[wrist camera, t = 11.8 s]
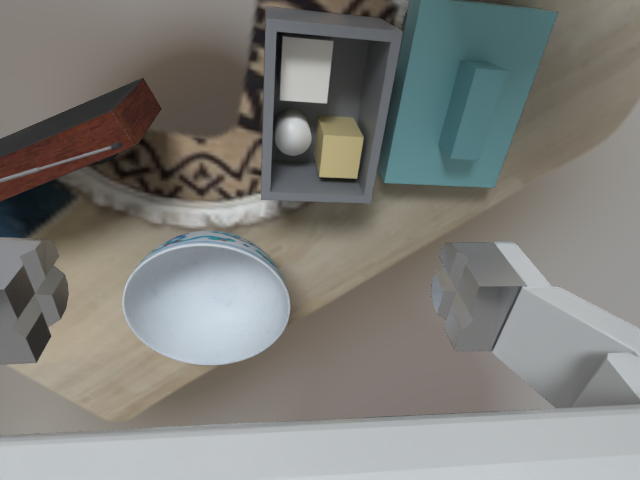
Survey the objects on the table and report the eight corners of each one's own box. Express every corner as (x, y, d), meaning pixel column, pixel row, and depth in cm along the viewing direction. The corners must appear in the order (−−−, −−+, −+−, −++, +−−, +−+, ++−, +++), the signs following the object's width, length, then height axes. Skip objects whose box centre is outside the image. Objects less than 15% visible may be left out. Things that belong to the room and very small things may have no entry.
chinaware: (314, 267, 47) (321, 316, 41) (214, 331, 51) (206, 385, 45) (220, 170, 40) (211, 212, 33) (110, 254, 44) (84, 305, 37)
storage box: (265, 6, 33) (265, 18, 27) (379, 17, 34) (403, 31, 28) (261, 163, 40) (261, 199, 34) (355, 168, 41) (370, 203, 35)
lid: (410, -6, 33) (435, 1, 28) (539, 8, 34) (582, 17, 30) (377, 170, 41) (392, 198, 36) (482, 175, 43) (509, 203, 38)
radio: (-1, 180, 38) (-127, 290, 26) (-28, 150, 36) (-177, 253, 24) (186, 102, 36) (145, 182, 24) (166, 67, 34) (111, 133, 22)
